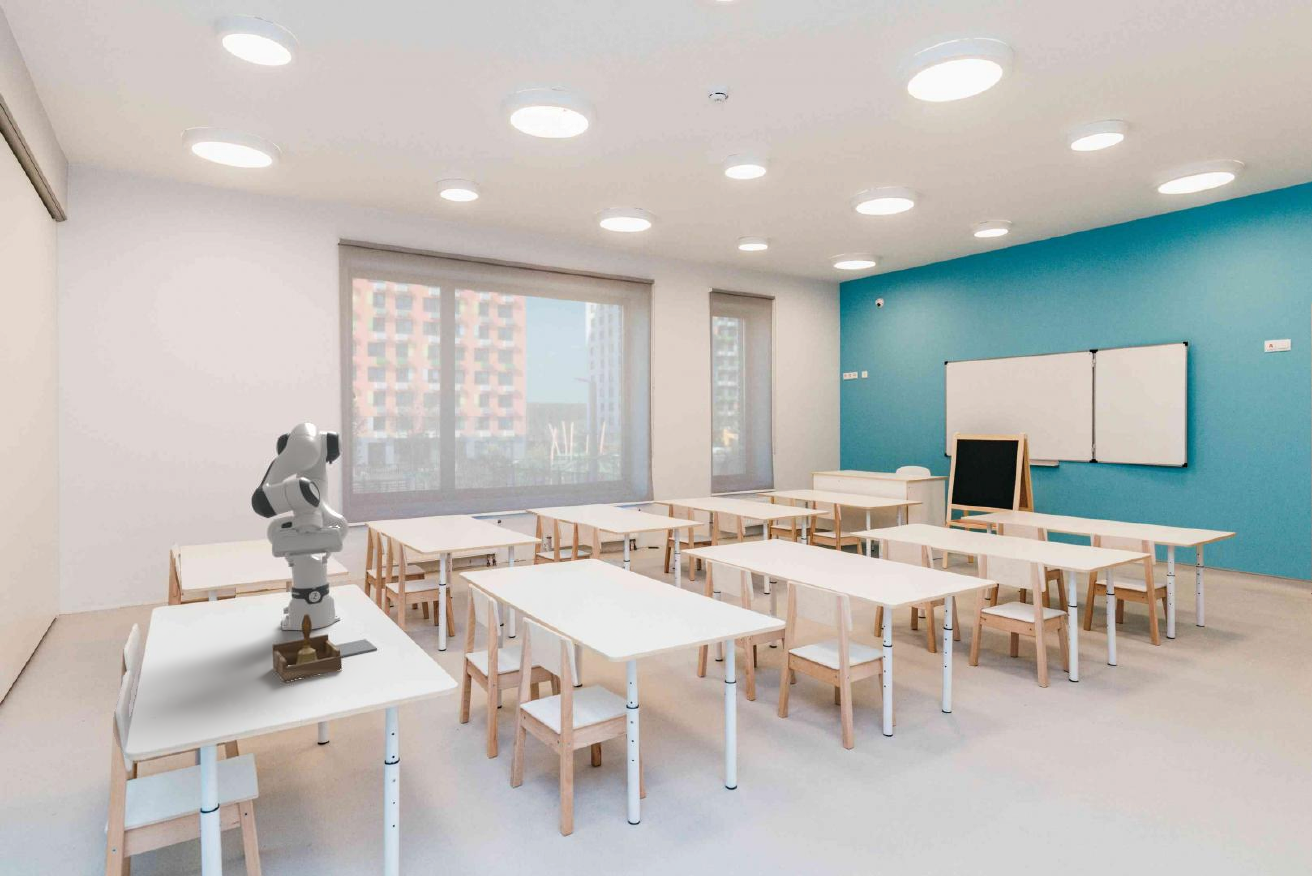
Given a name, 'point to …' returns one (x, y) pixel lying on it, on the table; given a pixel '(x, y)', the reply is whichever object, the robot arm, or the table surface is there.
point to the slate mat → (355, 647)
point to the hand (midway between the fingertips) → (308, 564)
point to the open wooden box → (289, 655)
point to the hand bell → (306, 643)
